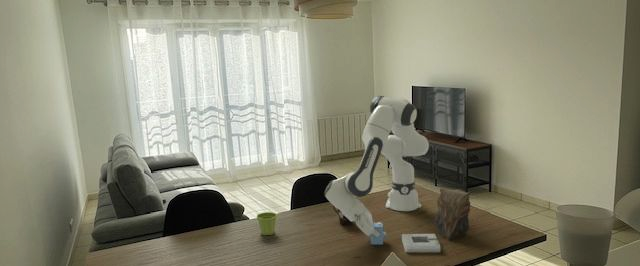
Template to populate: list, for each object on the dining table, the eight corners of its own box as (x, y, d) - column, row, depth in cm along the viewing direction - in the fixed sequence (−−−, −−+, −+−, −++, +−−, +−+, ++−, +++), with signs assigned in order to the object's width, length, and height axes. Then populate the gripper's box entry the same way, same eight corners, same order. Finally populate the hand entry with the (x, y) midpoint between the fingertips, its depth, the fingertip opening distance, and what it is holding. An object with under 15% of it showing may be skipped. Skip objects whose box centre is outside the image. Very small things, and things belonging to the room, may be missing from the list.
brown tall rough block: (433, 230, 203) (434, 188, 200) (458, 227, 206) (459, 185, 202) (446, 240, 191) (447, 196, 188) (473, 237, 193) (474, 193, 190)
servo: (367, 240, 194) (367, 221, 192) (385, 240, 193) (385, 221, 192) (368, 244, 190) (368, 224, 188) (386, 244, 189) (386, 224, 188)
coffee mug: (358, 224, 213) (357, 204, 212) (341, 227, 210) (341, 207, 208) (347, 217, 224) (347, 198, 222) (332, 219, 221) (331, 200, 219)
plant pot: (265, 228, 213) (264, 210, 212) (281, 231, 208) (280, 213, 207) (253, 234, 205) (252, 217, 204) (269, 238, 200) (268, 220, 199)
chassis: (402, 240, 193) (402, 234, 192) (434, 240, 192) (434, 233, 191) (405, 252, 181) (405, 245, 180) (440, 252, 180) (440, 245, 179)
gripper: (360, 214, 179) (385, 237, 180) (359, 198, 199) (381, 219, 200) (350, 225, 180) (374, 247, 181) (349, 208, 200) (371, 228, 201)
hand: (378, 232), depth 191 cm, fingers closed on servo, 4 cm apart
